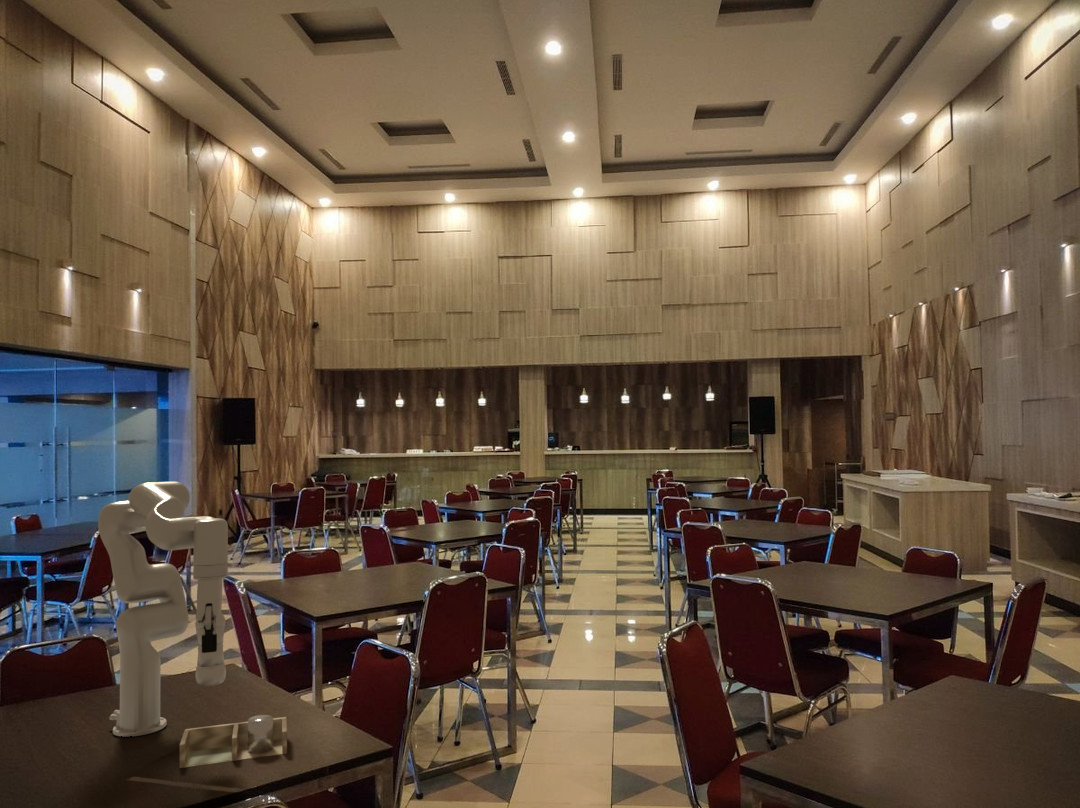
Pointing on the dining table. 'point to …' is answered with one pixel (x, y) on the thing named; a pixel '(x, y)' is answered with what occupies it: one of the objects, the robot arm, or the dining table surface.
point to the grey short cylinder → (260, 734)
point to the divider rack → (226, 743)
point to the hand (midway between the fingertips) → (210, 648)
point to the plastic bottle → (211, 657)
